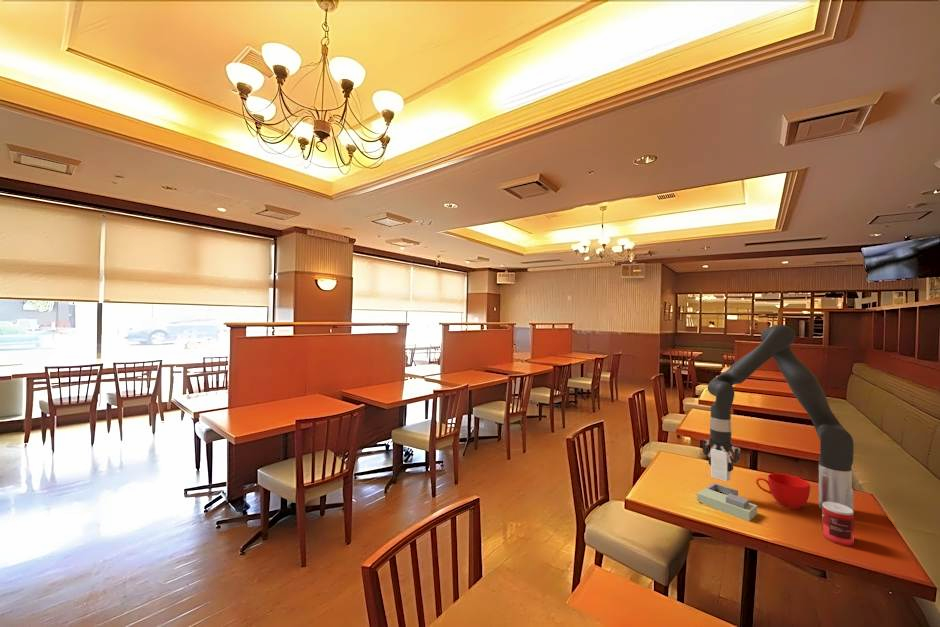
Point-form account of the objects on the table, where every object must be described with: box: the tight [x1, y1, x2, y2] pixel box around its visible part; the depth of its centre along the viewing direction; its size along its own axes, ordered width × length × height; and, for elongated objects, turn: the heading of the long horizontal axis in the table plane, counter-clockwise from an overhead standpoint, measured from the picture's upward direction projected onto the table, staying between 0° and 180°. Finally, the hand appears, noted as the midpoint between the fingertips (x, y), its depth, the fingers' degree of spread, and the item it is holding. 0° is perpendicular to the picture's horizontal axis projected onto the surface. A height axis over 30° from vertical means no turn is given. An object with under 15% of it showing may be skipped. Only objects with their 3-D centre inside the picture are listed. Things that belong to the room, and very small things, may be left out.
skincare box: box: [710, 448, 731, 482], centre depth 160 cm, size 6×4×12 cm
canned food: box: [821, 502, 855, 547], centre depth 130 cm, size 8×8×11 cm
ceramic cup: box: [755, 472, 811, 510], centre depth 154 cm, size 13×17×10 cm
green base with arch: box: [696, 482, 758, 522], centre depth 154 cm, size 18×18×6 cm
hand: (720, 468), depth 160 cm, fingers closed on skincare box, 6 cm apart
